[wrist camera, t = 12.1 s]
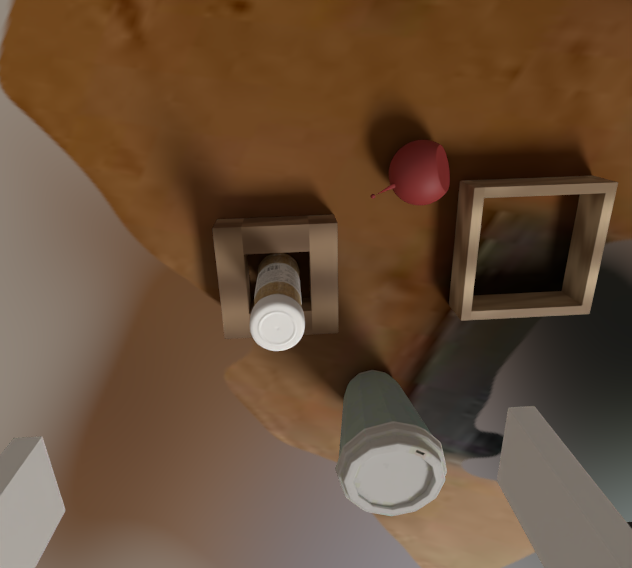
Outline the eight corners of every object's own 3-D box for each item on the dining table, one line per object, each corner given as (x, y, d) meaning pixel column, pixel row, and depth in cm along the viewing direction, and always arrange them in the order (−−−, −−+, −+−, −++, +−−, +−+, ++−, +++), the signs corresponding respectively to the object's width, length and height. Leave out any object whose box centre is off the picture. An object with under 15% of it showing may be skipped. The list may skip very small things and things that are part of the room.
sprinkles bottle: (262, 293, 51) (255, 357, 39) (253, 255, 49) (243, 308, 37) (303, 286, 51) (309, 347, 39) (295, 247, 49) (299, 298, 37)
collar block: (217, 219, 48) (212, 228, 45) (333, 214, 48) (337, 223, 45) (228, 323, 52) (224, 338, 49) (335, 318, 53) (338, 333, 50)
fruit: (388, 142, 48) (361, 163, 42) (443, 128, 45) (423, 149, 39) (402, 198, 50) (378, 227, 44) (455, 189, 47) (438, 218, 41)
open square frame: (459, 180, 48) (474, 187, 44) (592, 175, 48) (617, 182, 45) (448, 304, 53) (461, 320, 49) (568, 298, 54) (589, 313, 50)
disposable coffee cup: (382, 437, 60) (412, 541, 46) (309, 406, 57) (316, 506, 43) (429, 374, 57) (475, 465, 43) (353, 338, 54) (376, 422, 40)
